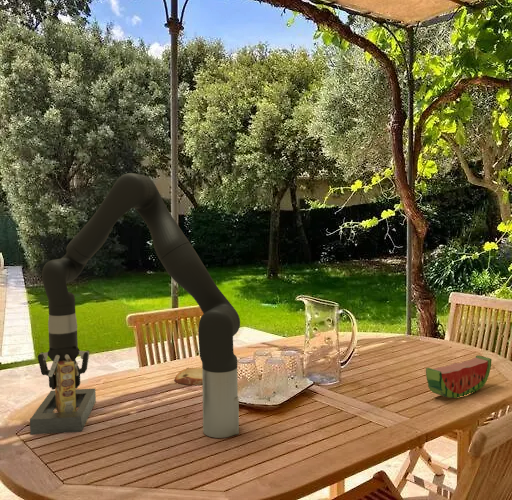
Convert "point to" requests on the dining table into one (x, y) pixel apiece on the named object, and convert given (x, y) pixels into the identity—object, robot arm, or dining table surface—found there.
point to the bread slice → (190, 377)
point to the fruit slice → (459, 377)
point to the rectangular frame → (62, 414)
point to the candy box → (65, 386)
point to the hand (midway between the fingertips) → (65, 388)
